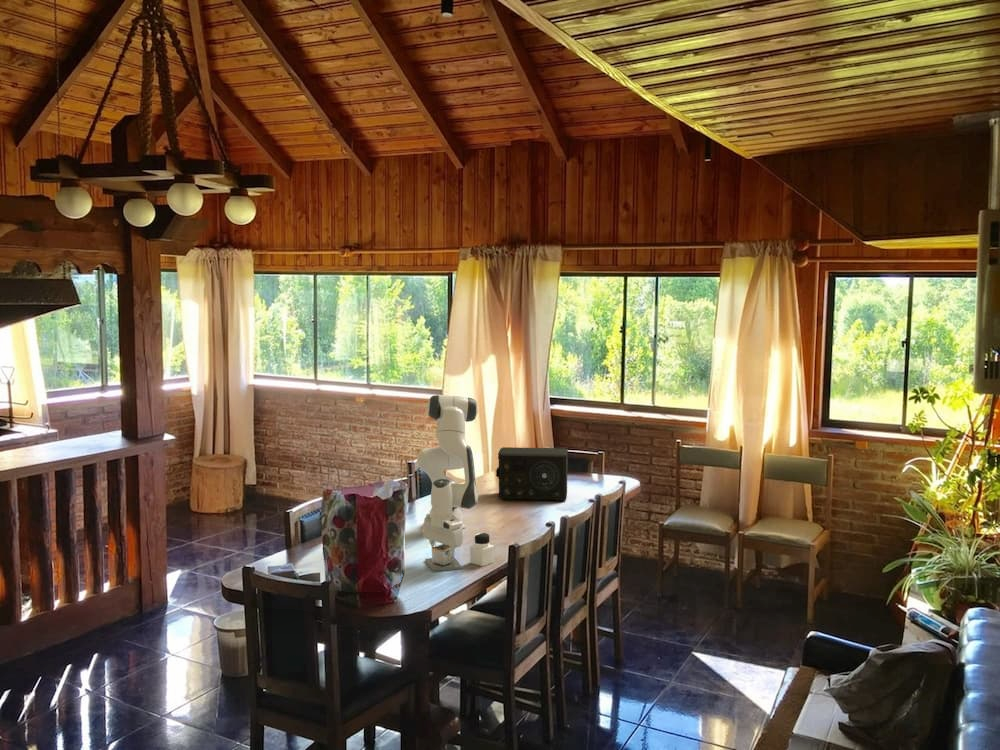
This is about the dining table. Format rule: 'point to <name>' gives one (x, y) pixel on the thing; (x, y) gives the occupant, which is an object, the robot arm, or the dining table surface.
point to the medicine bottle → (482, 550)
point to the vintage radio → (533, 473)
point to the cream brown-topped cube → (441, 554)
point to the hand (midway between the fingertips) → (442, 553)
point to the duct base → (438, 567)
